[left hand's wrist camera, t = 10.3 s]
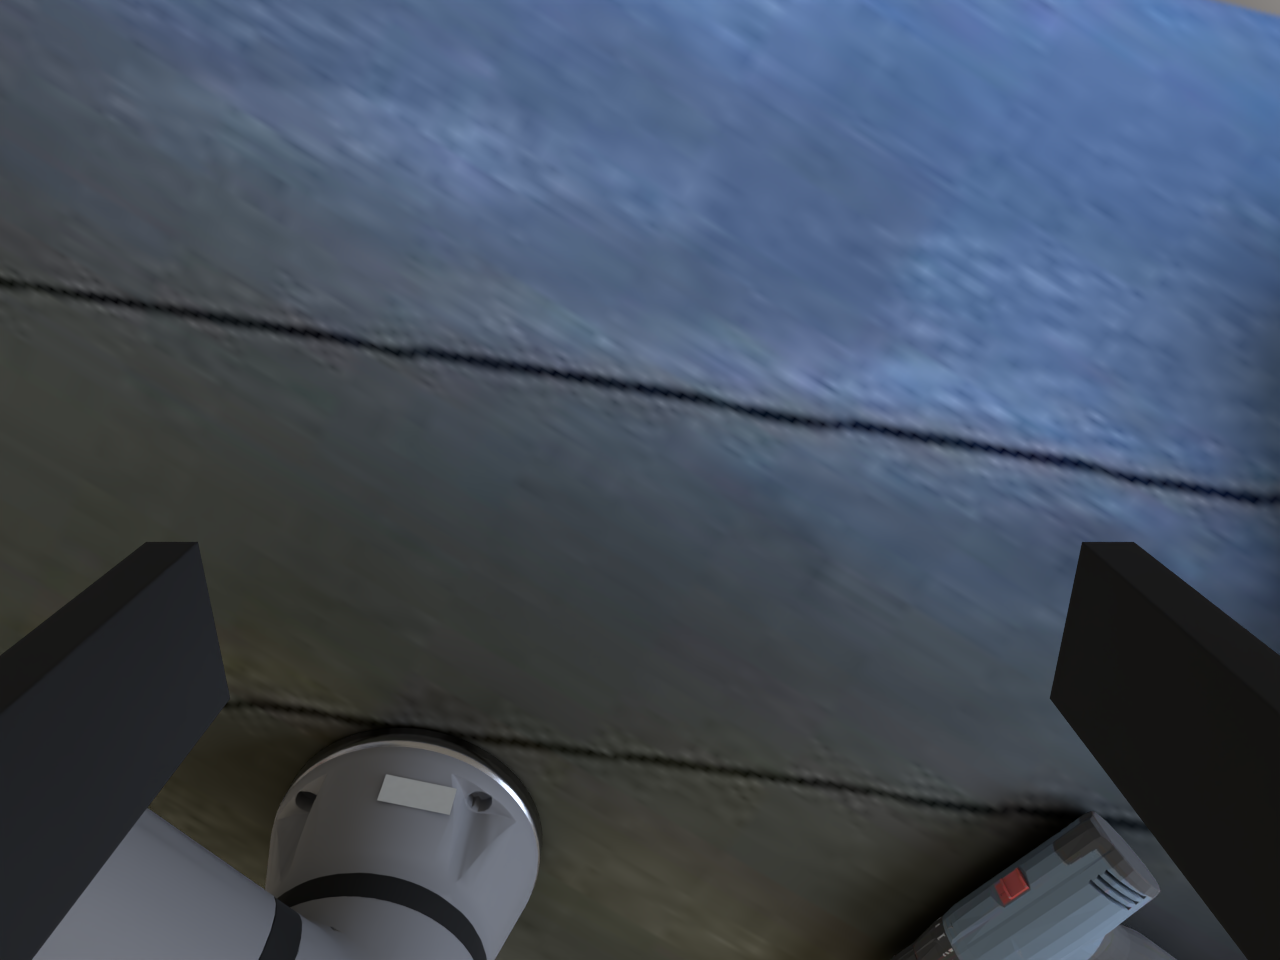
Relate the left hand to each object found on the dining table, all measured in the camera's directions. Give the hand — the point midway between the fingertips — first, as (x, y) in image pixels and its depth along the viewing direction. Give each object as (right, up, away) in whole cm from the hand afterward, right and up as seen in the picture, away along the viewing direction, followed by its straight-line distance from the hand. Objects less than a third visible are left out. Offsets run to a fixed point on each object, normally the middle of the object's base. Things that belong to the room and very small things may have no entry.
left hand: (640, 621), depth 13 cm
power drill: (+26, -28, +41) cm, 56 cm away
